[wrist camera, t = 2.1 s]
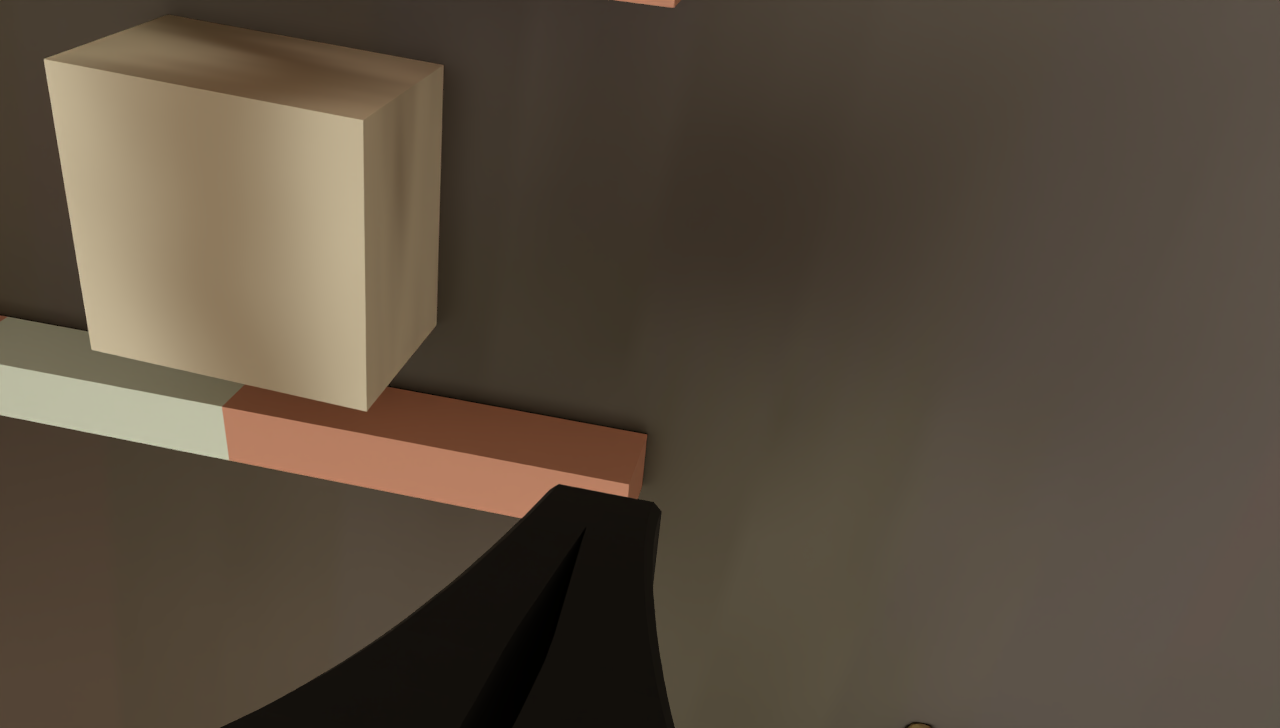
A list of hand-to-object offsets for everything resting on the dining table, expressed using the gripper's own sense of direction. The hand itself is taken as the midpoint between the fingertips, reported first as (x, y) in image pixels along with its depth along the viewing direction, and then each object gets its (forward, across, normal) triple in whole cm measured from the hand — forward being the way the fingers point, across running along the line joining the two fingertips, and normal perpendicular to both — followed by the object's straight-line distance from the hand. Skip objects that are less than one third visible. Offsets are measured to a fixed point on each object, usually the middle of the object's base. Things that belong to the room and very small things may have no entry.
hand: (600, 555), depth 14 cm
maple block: (+10, +9, 0) cm, 14 cm away
